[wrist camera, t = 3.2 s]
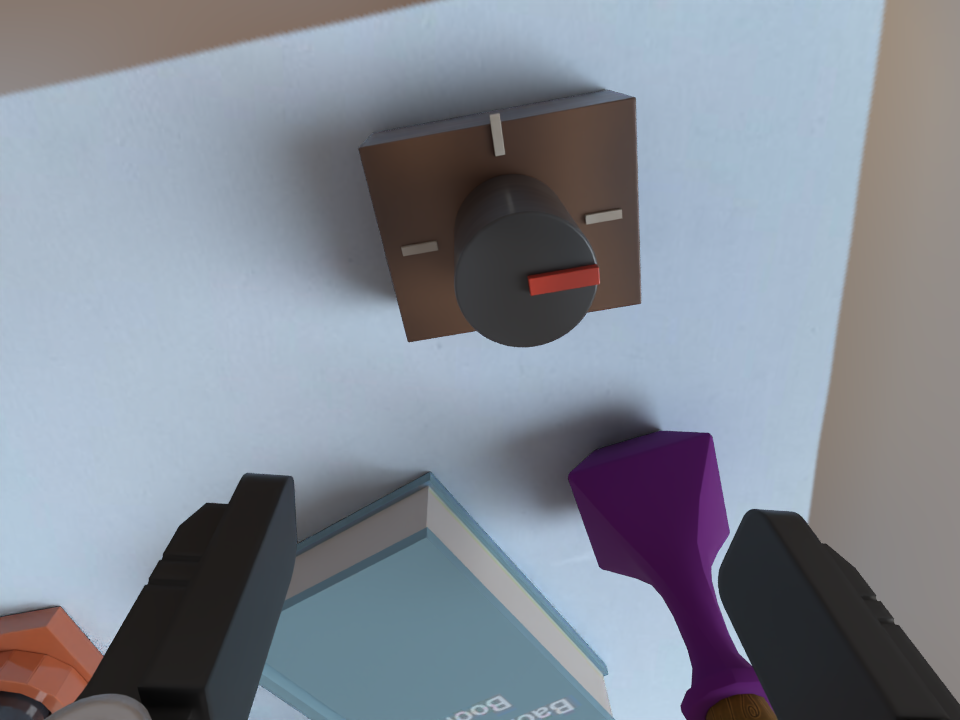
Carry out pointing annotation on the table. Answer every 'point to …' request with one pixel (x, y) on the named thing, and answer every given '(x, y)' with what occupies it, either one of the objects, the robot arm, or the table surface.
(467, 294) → the dial
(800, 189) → the table surface
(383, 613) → the book
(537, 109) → the dial panel
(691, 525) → the perfume bottle
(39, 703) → the dark grey knob
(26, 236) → the table surface
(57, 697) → the button base
